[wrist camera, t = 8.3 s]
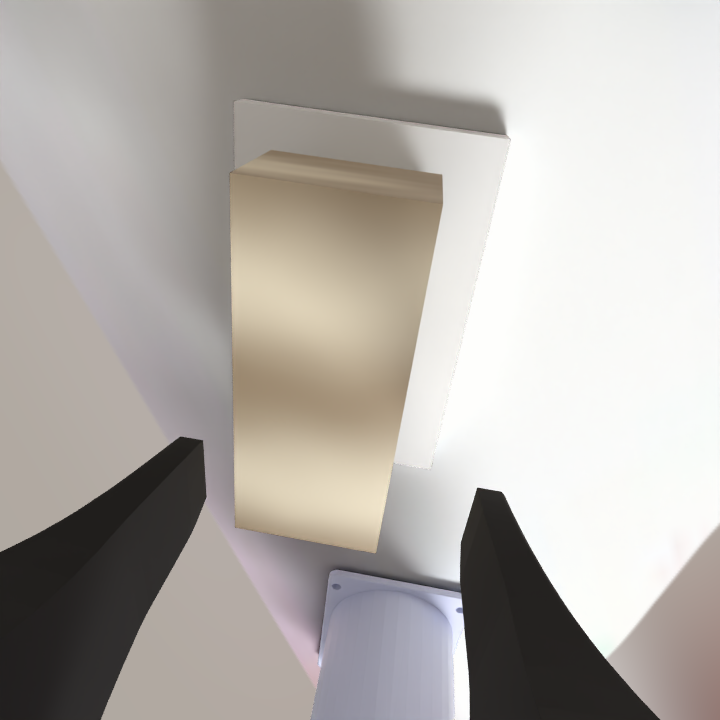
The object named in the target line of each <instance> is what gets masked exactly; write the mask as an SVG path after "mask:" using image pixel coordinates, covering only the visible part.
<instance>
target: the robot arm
mask: <svg viewBox="0 0 720 720" xmlns="http://www.w3.org/2000/svg"><path fill="white" fill-rule="evenodd" d="M205 499H206V482H205V466H204V449H203V440H197V439H192V438H186V437H179V438H178V439H177V440H175V441H174V442H173V443H171V444H170V445H168V446H167V447H166V448H165V449H163V450H162V451H161V452H159V453H158V454H157V455H155V456H154V457H153V458H151V459H150V460H149V461H148V462H146V463H145V464H144V465H142V466H141V467H140V468H138V469H137V470H136V471H134V472H133V473H132V474H130V475H129V476H127V477H126V478H125V479H123V480H122V481H120V482H119V483H118V484H116V485H115V486H114V487H112V488H111V489H109V490H108V491H106V492H105V493H103V494H102V495H100V496H99V497H97V498H96V499H94V500H93V501H91V502H90V503H88V504H87V505H85V506H84V507H82V508H81V509H79V510H78V511H76V512H74V513H73V514H71V515H69V516H68V517H66V518H64V519H63V520H61V521H59V522H58V523H56V524H54V525H52V526H51V527H49V528H47V529H45V530H43V531H41V532H40V533H38V534H36V535H34V536H32V537H30V538H28V539H26V540H24V541H22V542H20V543H18V544H16V545H14V546H12V547H10V548H8V549H6V550H4V551H2V552H0V720H101V717H102V715H103V712H104V710H105V707H106V705H107V702H108V700H109V697H110V695H111V693H112V690H113V688H114V686H115V683H116V681H117V678H118V676H119V674H120V671H121V669H122V667H123V664H124V662H125V660H126V658H127V655H128V653H129V651H130V648H131V646H132V644H133V642H134V639H135V637H136V635H137V633H138V630H139V628H140V626H141V624H142V622H143V620H144V618H145V616H146V614H147V612H148V610H149V609H150V607H151V605H152V603H153V601H154V600H155V598H156V596H157V594H158V593H159V590H160V589H161V587H162V585H163V584H164V582H165V580H166V578H167V577H168V575H169V573H170V571H171V570H172V568H173V566H174V564H175V562H176V560H177V559H178V557H179V555H180V553H181V552H182V550H183V548H184V546H185V544H186V543H187V541H188V539H189V537H190V535H191V533H192V531H193V529H194V527H195V524H196V522H197V519H198V517H199V515H200V512H201V510H202V507H203V504H204V502H205ZM460 586H461V593H459V592H454V591H449V590H444V589H438V588H433V587H428V586H422V585H417V584H412V583H406V582H401V581H396V580H390V579H385V578H380V577H374V576H369V575H364V574H358V573H353V572H348V571H342V570H333V571H331V572H330V574H329V579H328V587H327V595H326V603H325V610H324V618H323V626H322V634H321V642H320V650H319V658H318V665H319V667H320V674H319V679H318V684H317V689H316V694H315V699H314V704H313V710H312V715H311V720H455V708H454V665H453V656H454V653H455V650H456V647H457V645H458V642H459V639H460V636H461V634H462V631H463V628H464V629H465V639H466V650H467V660H468V670H469V688H470V720H660V719H659V718H658V717H657V716H656V715H655V714H654V713H653V712H652V711H651V710H650V709H649V708H648V706H647V705H645V703H644V702H643V701H642V700H641V699H640V698H639V697H638V696H637V695H636V694H635V693H634V691H633V690H632V689H631V688H630V687H629V686H628V684H627V683H626V682H625V681H624V680H623V679H622V678H621V676H620V675H619V674H618V673H617V672H616V671H615V670H614V668H613V667H612V666H611V665H610V664H609V663H608V661H607V660H606V659H605V658H604V657H603V655H602V654H601V653H600V651H599V650H598V649H597V648H596V646H595V645H594V644H593V643H592V641H591V640H590V639H589V637H588V636H587V635H586V633H585V632H584V631H583V629H582V628H581V627H580V625H579V624H578V623H577V621H576V620H575V618H574V617H573V615H572V614H571V613H570V611H569V610H568V608H567V607H566V605H565V604H564V602H563V601H562V599H561V598H560V596H559V595H558V593H557V591H556V590H555V588H554V587H553V585H552V584H551V582H550V580H549V579H548V577H547V576H546V574H545V572H544V571H543V569H542V567H541V565H540V564H539V562H538V560H537V558H536V557H535V555H534V553H533V551H532V550H531V548H530V546H529V544H528V542H527V540H526V539H525V537H524V535H523V533H522V531H521V529H520V527H519V525H518V523H517V521H516V519H515V517H514V515H513V513H512V511H511V509H510V507H509V504H508V502H507V500H506V498H505V496H504V495H503V493H502V492H499V491H494V490H488V489H482V488H477V491H476V494H475V497H474V501H473V504H472V507H471V511H470V514H469V517H468V521H467V524H466V527H465V531H464V534H463V537H462V541H461V557H460Z"/></svg>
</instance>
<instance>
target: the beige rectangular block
mask: <svg viewBox="0 0 720 720" xmlns="http://www.w3.org/2000/svg"><path fill="white" fill-rule="evenodd" d="M442 208H443V179H442V174H435V173H428V172H421V171H414V170H407V169H400V168H393V167H387V166H380V165H373V164H366V163H359V162H352V161H345V160H338V159H331V158H324V157H317V156H310V155H303V154H296V153H289V152H282V151H275V150H270V151H268V152H266V153H265V154H263V155H261V156H259V157H257V158H256V159H254V160H252V161H250V162H248V163H247V164H245V165H243V166H241V167H239V168H237V169H236V170H234V171H232V172H230V234H231V299H232V363H233V428H234V492H235V528H241V529H246V530H252V531H257V532H262V533H268V534H273V535H278V536H284V537H289V538H295V539H300V540H305V541H311V542H316V543H322V544H327V545H332V546H338V547H343V548H349V549H354V550H359V551H365V552H370V553H375V554H376V550H377V545H378V540H379V535H380V529H381V524H382V519H383V514H384V509H385V504H386V498H387V493H388V488H389V483H390V478H391V472H392V467H393V462H394V457H395V452H396V446H397V441H398V436H399V431H400V426H401V421H402V415H403V410H404V405H405V400H406V395H407V389H408V384H409V379H410V374H411V369H412V363H413V358H414V353H415V348H416V343H417V337H418V332H419V327H420V322H421V317H422V312H423V306H424V301H425V296H426V291H427V286H428V280H429V275H430V270H431V265H432V260H433V254H434V249H435V244H436V239H437V234H438V229H439V223H440V218H441V213H442Z"/></svg>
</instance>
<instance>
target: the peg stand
mask: <svg viewBox="0 0 720 720" xmlns="http://www.w3.org/2000/svg"><path fill="white" fill-rule="evenodd" d="M510 142H511V139H510V138H509V137H508V136H507V135H500V134H493V133H486V132H478V131H471V130H464V129H457V128H450V127H442V126H435V125H428V124H421V123H414V122H406V121H399V120H392V119H385V118H378V117H370V116H363V115H356V114H349V113H342V112H334V111H327V110H320V109H313V108H306V107H298V106H291V105H284V104H277V103H269V102H262V101H255V100H248V99H241V100H236V101H234V170H236V169H237V168H239V167H241V166H243V165H245V164H247V163H248V162H250V161H252V160H254V159H256V158H257V157H259V156H261V155H263V154H265V153H266V152H268V151H270V150H275V151H282V152H289V153H296V154H303V155H310V156H317V157H324V158H331V159H338V160H345V161H352V162H359V163H366V164H373V165H380V166H387V167H393V168H400V169H407V170H414V171H421V172H428V173H435V174H442V179H443V208H442V213H441V218H440V223H439V229H438V234H437V239H436V244H435V249H434V254H433V260H432V265H431V270H430V275H429V280H428V286H427V291H426V296H425V301H424V306H423V312H422V317H421V322H420V327H419V332H418V337H417V343H416V348H415V353H414V358H413V363H412V369H411V374H410V379H409V384H408V389H407V395H406V400H405V405H404V410H403V415H402V421H401V426H400V431H399V436H398V441H397V446H396V452H395V457H394V462H393V463H394V464H399V465H405V466H411V467H417V468H422V469H428V470H431V466H432V462H433V458H434V454H435V449H436V445H437V441H438V437H439V433H440V429H441V425H442V421H443V417H444V413H445V408H446V404H447V400H448V396H449V392H450V388H451V384H452V380H453V376H454V371H455V367H456V363H457V359H458V355H459V351H460V347H461V343H462V339H463V335H464V330H465V326H466V322H467V318H468V314H469V310H470V306H471V302H472V298H473V293H474V289H475V285H476V281H477V277H478V273H479V269H480V265H481V261H482V256H483V252H484V248H485V244H486V240H487V236H488V232H489V228H490V224H491V220H492V215H493V211H494V207H495V203H496V199H497V195H498V191H499V187H500V183H501V178H502V174H503V170H504V166H505V162H506V158H507V154H508V150H509V146H510Z"/></svg>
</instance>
